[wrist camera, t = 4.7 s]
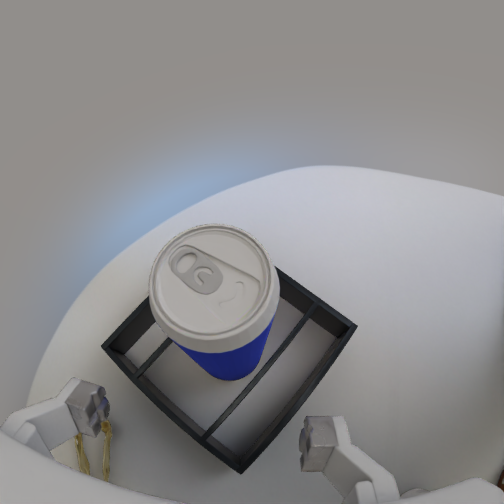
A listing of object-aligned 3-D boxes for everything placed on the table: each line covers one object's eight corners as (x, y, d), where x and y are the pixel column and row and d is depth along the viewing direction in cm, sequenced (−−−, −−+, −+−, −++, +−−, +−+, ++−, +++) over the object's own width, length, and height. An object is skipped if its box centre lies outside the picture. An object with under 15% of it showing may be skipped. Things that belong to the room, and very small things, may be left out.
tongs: (103, 538, 14) (94, 544, 12) (77, 414, 20) (66, 413, 19) (145, 543, 14) (137, 550, 13) (116, 415, 21) (107, 414, 19)
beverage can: (273, 344, 24) (309, 264, 11) (235, 393, 22) (222, 379, 9) (224, 309, 26) (203, 197, 12) (185, 355, 24) (115, 287, 10)
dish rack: (221, 246, 29) (219, 225, 26) (344, 336, 25) (358, 325, 21) (117, 354, 23) (100, 346, 20) (241, 465, 19) (241, 475, 16)
